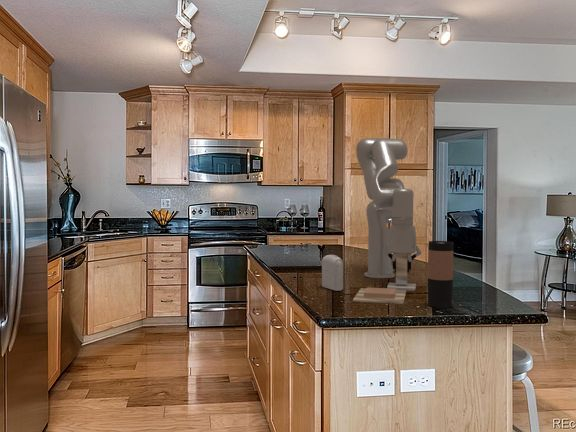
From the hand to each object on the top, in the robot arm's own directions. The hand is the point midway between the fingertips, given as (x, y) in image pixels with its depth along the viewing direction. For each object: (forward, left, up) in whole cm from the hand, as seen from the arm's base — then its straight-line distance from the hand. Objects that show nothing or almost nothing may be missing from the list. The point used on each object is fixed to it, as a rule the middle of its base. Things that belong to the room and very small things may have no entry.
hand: (401, 271), depth 198 cm
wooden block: (0, 0, -4) cm, 4 cm away
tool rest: (0, 0, -6) cm, 6 cm away
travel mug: (+11, +29, -6) cm, 32 cm away
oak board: (+18, +9, -6) cm, 21 cm away
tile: (+18, +10, -5) cm, 21 cm away
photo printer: (+24, -11, -6) cm, 27 cm away
